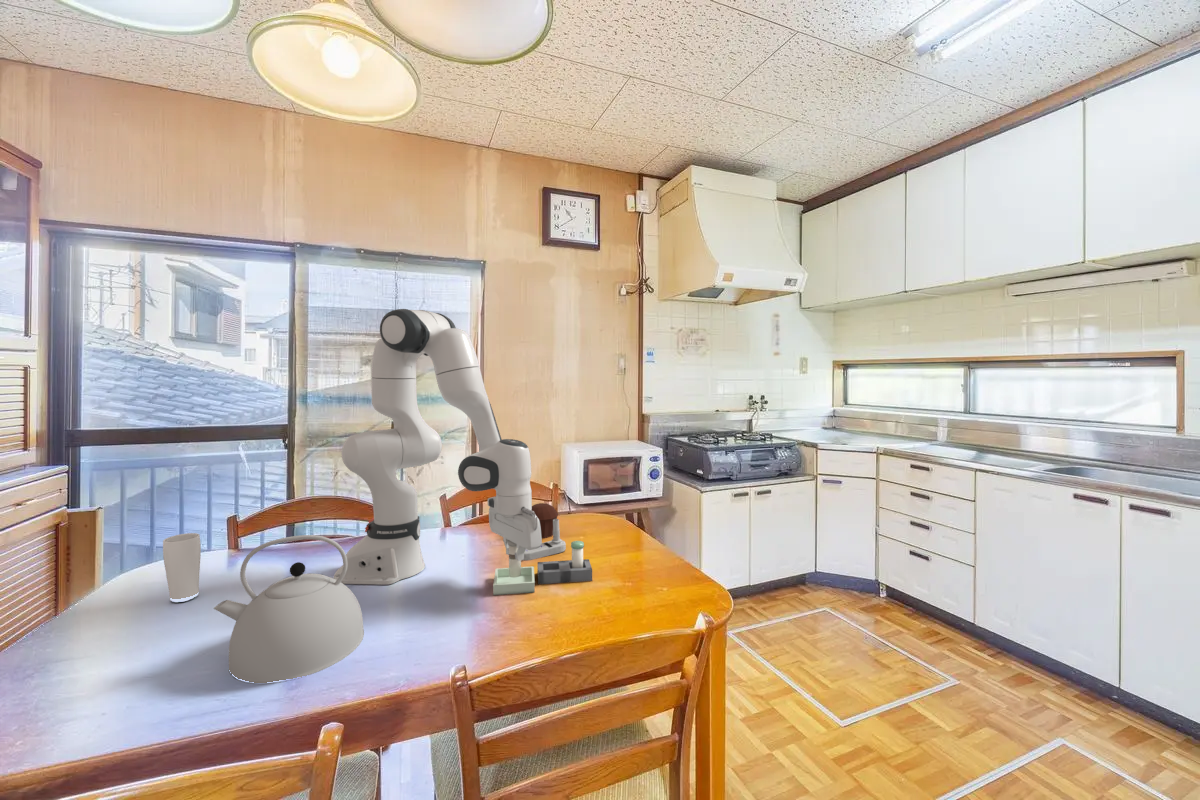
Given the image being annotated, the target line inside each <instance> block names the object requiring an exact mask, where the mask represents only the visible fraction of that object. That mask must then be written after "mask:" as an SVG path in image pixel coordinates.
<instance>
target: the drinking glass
mask: <svg viewBox="0 0 1200 800" xmlns="http://www.w3.org/2000/svg"><path fill="white" fill-rule="evenodd" d="M200 536H201V535H200V534H199V533H196V532H191V533H190V532H189V533H180V534H175V535H172V536H169V537H167V538H164V539H163V540H162V557H163V564H164V569H165V576H166V580H167V586H168V592H169V599H170V598H172V599H181V598H186V597H190V596H193V595H195V594H197V593H198V592H199V593H200V571H201V556H202V554H201V553H202V551H201V550H202V548H201V537H200Z"/></svg>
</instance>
